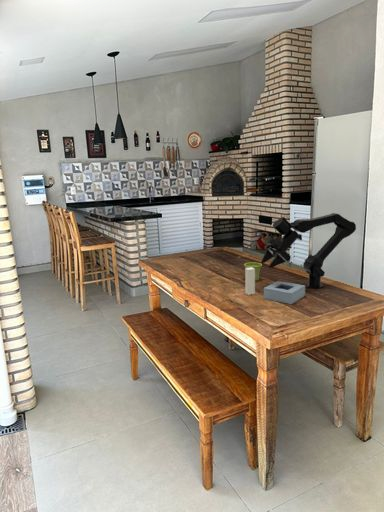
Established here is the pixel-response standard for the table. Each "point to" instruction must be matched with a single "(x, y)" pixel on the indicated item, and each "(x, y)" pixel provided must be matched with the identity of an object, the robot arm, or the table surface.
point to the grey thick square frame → (284, 292)
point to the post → (250, 281)
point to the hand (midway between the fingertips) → (265, 265)
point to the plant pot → (256, 267)
